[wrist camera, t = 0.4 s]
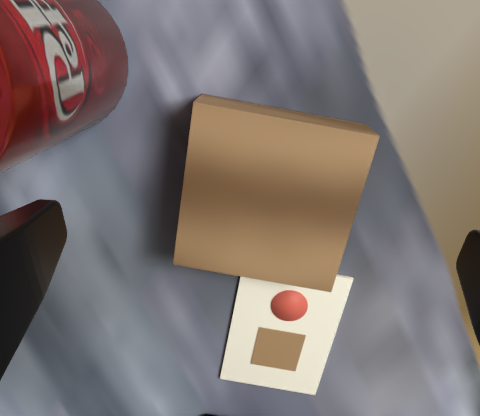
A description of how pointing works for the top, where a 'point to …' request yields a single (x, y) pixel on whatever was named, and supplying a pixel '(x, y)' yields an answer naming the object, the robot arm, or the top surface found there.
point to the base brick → (270, 191)
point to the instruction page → (282, 333)
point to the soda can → (55, 73)
